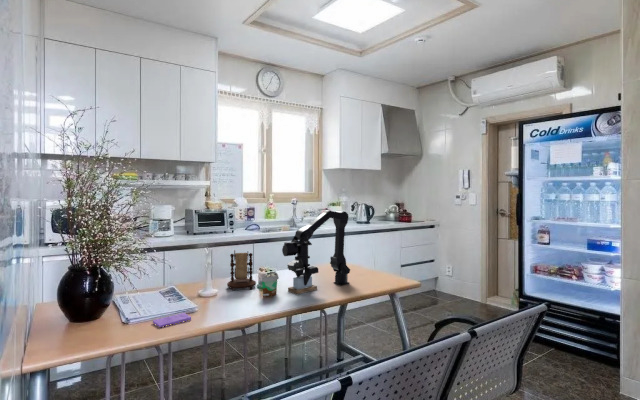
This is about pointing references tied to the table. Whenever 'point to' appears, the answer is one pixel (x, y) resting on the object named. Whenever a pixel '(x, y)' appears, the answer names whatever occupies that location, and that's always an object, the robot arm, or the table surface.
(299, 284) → the key block
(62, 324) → the table surface
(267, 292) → the food container
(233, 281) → the scroll
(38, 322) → the table surface
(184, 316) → the purple flat block
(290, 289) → the tan picture frame
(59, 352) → the table surface
